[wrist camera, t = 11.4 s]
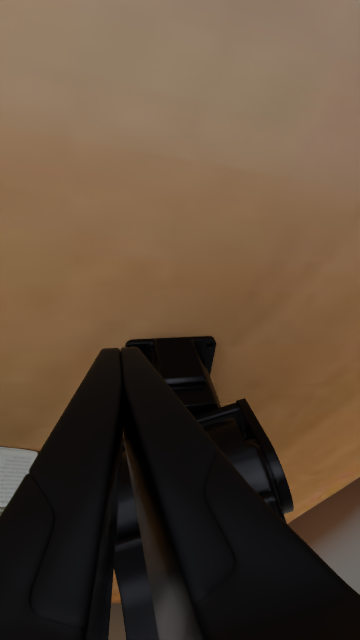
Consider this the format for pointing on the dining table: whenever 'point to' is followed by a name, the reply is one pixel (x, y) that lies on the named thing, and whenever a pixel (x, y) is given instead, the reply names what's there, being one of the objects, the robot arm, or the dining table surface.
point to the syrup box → (13, 471)
